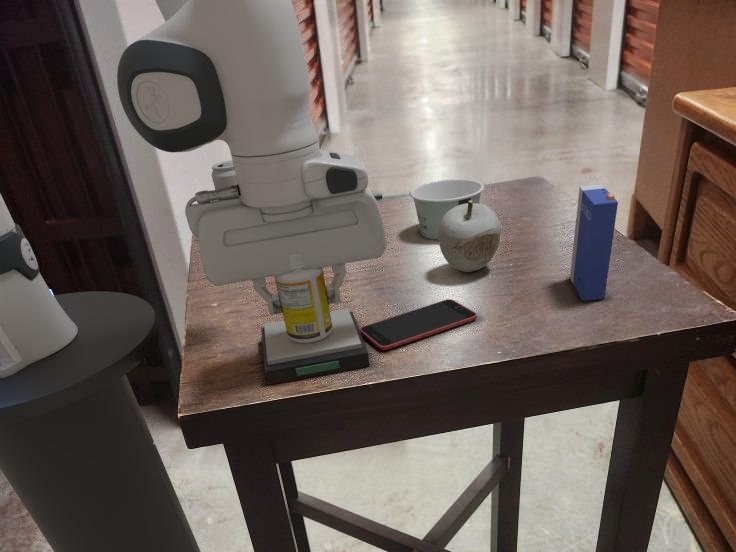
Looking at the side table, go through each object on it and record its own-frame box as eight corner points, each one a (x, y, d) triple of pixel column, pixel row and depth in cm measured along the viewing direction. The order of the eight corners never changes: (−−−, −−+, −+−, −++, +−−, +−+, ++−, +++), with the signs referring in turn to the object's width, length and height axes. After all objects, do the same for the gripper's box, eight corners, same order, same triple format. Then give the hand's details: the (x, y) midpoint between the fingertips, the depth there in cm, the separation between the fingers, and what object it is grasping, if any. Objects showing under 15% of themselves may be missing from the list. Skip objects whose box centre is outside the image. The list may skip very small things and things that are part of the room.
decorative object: (471, 255, 94) (471, 185, 88) (512, 268, 89) (515, 194, 82) (427, 272, 91) (423, 200, 85) (466, 287, 85) (465, 212, 79)
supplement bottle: (318, 320, 77) (303, 236, 70) (341, 333, 73) (328, 246, 66) (279, 335, 75) (260, 250, 68) (301, 349, 71) (283, 261, 64)
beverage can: (232, 229, 119) (215, 160, 111) (264, 226, 118) (249, 157, 110) (223, 240, 114) (204, 169, 106) (256, 237, 113) (239, 166, 105)
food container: (401, 229, 107) (398, 189, 103) (461, 214, 110) (461, 174, 106) (432, 248, 99) (430, 204, 94) (497, 231, 101) (498, 188, 97)
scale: (268, 385, 70) (263, 367, 69) (264, 340, 80) (259, 323, 78) (369, 366, 71) (367, 348, 70) (354, 324, 80) (351, 306, 79)
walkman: (604, 299, 78) (619, 198, 70) (582, 301, 78) (594, 201, 70) (590, 275, 84) (602, 180, 76) (569, 277, 84) (579, 182, 76)
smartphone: (480, 314, 77) (382, 348, 73) (480, 319, 77) (382, 352, 73) (450, 297, 82) (356, 327, 78) (450, 301, 82) (357, 332, 78)
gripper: (177, 202, 60) (216, 334, 69) (382, 168, 61) (394, 301, 70) (181, 187, 64) (218, 312, 73) (371, 155, 66) (384, 282, 75)
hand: (305, 306), depth 72 cm, fingers closed on supplement bottle, 5 cm apart
